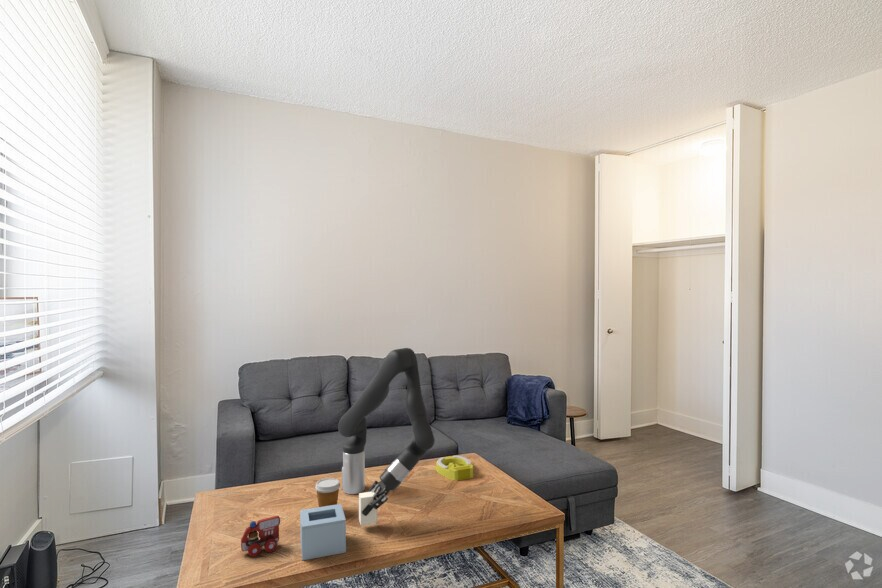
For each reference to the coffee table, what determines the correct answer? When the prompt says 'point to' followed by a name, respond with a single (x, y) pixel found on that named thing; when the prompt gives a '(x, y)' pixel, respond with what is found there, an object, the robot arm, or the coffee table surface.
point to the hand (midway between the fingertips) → (362, 511)
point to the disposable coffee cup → (327, 491)
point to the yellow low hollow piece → (455, 468)
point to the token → (363, 502)
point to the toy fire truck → (261, 536)
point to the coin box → (322, 531)
